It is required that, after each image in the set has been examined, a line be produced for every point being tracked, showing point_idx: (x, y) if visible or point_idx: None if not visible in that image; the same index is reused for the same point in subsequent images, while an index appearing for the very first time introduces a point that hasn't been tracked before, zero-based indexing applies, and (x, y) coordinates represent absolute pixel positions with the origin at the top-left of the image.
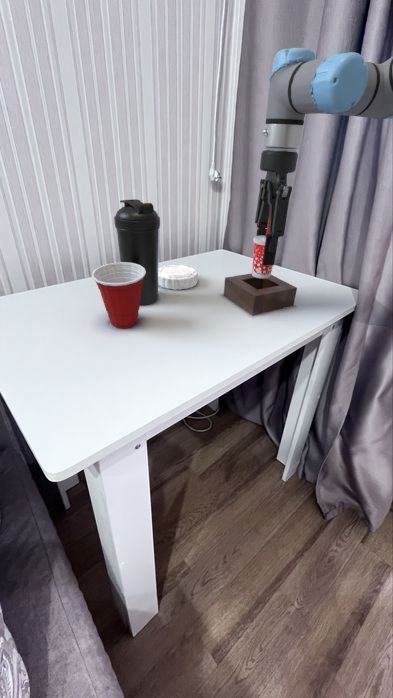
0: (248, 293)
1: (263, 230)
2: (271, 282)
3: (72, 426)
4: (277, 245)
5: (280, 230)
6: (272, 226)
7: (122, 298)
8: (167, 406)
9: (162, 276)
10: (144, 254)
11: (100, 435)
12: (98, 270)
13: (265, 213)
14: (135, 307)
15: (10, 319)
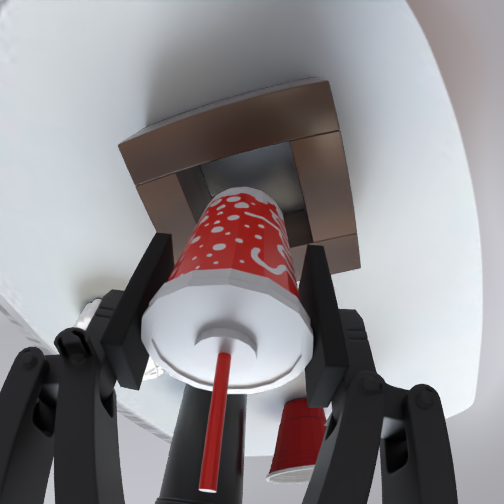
0: None
1: (132, 365)
2: (234, 153)
3: (448, 409)
4: (265, 274)
5: (404, 421)
6: (382, 466)
7: None
8: (475, 369)
9: (153, 378)
10: (242, 472)
11: (466, 397)
12: (284, 481)
13: (112, 474)
14: (324, 426)
15: (265, 454)
